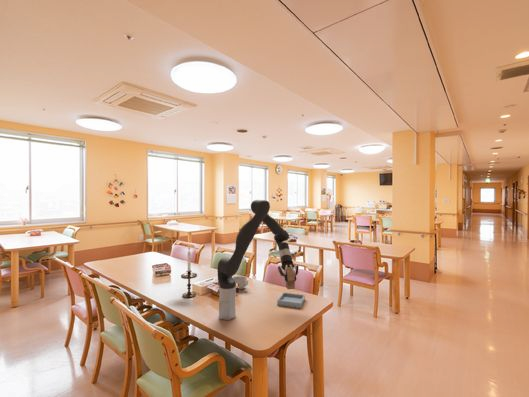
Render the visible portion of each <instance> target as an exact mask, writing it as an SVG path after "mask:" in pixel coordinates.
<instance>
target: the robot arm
mask: <svg viewBox="0 0 529 397" xmlns="http://www.w3.org/2000/svg"><path fill="white" fill-rule="evenodd" d="M250 209H251V211H252V213H253V214H254V215H253V217H252V218H251V219H249V220H248V221H247V222H246V223H244V224H243V225H242V227H241V228H240V230H239V231H238V233H237V235H236V237H235V248H234V252H233V254H232V255H231V257H230V258H228V257H222V258H221V259H220V260H219V262H218V263H217V281H218V284H219V285H218V286H219V291H218V292H219V293H218V294H219V296H218V297H219V300H218V319H219V320H223V321H224V320H226V321H230V320H232V319H234V318H236V316H237V315H236V310H237V309H236V306H237V305H236V304H237V303H236V295H237V293H236V290H237V289H236V283H235V280H234V279H233V277H234V276H235V275H236V274H237V273H238V271H239V269H240V266H241V264H242V261H243V259H244V256H245V255H246V252H247V250H248V248H249V246H250V245H251V243H252V242H253V239H254V237H255V235H256V233H257V231H258V230H259V227H260V226H261V224H262V222H263V223H264V224H265V225H266V227H267V228H268V229H269V231H270V232H271V233H272V234H273V235H274V236H273V239H274V241H275V243H276V245H277V247H278V252H279V258H280V263H281V266H280V265H278V266H277V271H278V273H279V274H280V277H283V278H284V282H285V283H286V282H288V279H287V275H286V270H287V269H288V268H289V267H292V269H293V270H294V269H295V270H294V271H295V282H296V281H297V276H298V274H299V267H300V266H299V264H297V265H295V264H294V262H293V257H292V253H291V249H290V247H289V246H290V245H289V243H288V242H286V241H288V240H289V239H290V234H289V232H288V231H287V230H285V229H284V228H283V227H281V226H280V224H279V222H278V221H277V220H276V219H275V218H273V217H272V216H270V215H269V214H268V213H269V211H270V209H271V205H270V201H268V200H266V199H255V200H253V201H252V202H251V203H250ZM283 271H284V272H283Z"/></svg>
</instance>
